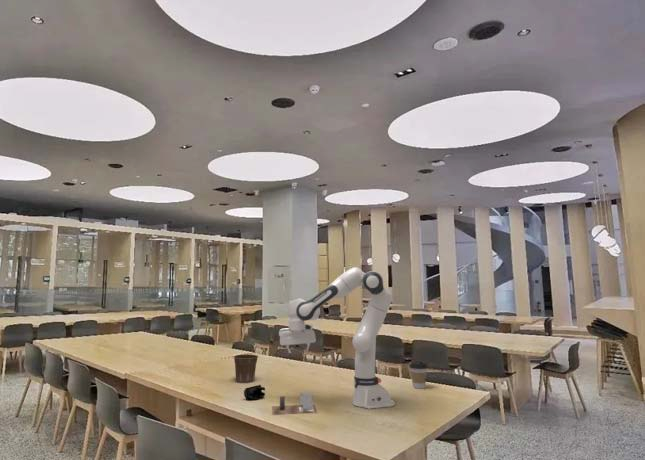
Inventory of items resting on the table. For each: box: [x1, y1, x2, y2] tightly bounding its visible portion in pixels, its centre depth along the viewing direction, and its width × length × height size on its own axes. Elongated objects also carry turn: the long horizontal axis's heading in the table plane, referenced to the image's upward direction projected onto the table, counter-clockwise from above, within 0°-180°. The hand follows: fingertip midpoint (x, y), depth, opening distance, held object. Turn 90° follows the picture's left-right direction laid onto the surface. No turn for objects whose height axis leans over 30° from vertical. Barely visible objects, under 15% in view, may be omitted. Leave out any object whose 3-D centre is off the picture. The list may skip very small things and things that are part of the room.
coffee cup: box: [408, 361, 428, 390], centre depth 251 cm, size 11×11×15 cm
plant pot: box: [233, 353, 259, 384], centre depth 270 cm, size 16×16×16 cm
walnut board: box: [271, 395, 318, 416], centre depth 203 cm, size 22×14×8 cm, turn 97°
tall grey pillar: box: [299, 391, 314, 411], centre depth 203 cm, size 5×5×8 cm
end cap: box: [243, 384, 266, 402], centre depth 227 cm, size 10×7×7 cm
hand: (298, 352), depth 224 cm, fingers open, 8 cm apart
